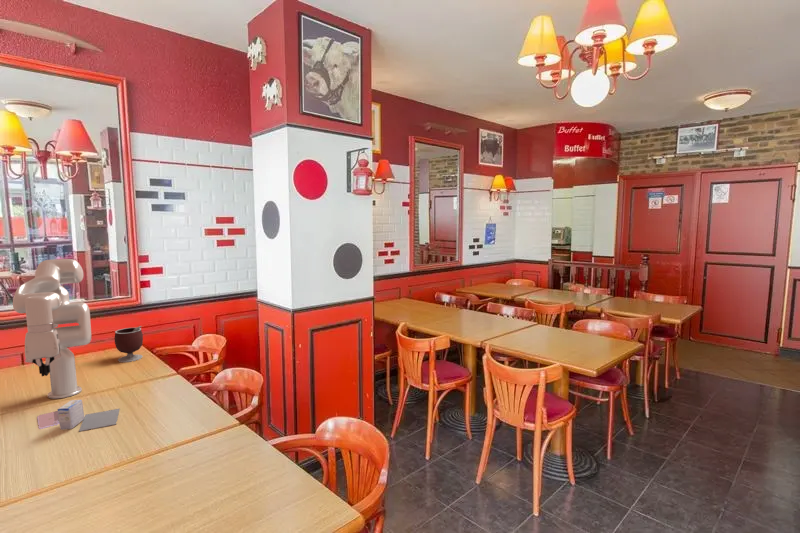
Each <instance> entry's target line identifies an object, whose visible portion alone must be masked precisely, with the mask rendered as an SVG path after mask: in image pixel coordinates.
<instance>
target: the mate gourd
mask: <svg viewBox="0 0 800 533" xmlns="http://www.w3.org/2000/svg"><path fill="white" fill-rule="evenodd" d="M143 335H144V334H143V330H142V325H140V326H138V327H125V328H121V329H117V330H115V331H114V345H115V349H116V350H117V351H119V352H120V353H125V354H126V355H124V356H122V357H119V358H118V359H117V361H119V362H118V363H131V362H132V361H133V362H136V360H137V361H140V360H142V359H143V358H142V357H144V356H143V355H142V354H134V353H135V352H136V351H139V350H140V349H141V347H142V346H143V341H144V337H143ZM141 358H142V359H141ZM139 359H140V360H139Z"/></svg>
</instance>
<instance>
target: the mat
mask: <svg viewBox="0 0 800 533" xmlns="http://www.w3.org/2000/svg"><path fill="white" fill-rule="evenodd" d="M120 410H121V409H120V408H116V409H109V410H105V411H99V412H92V413H87V414H84V418H85V419H84V420H83V421H81V422H82V423H81V425H80V427H79V430H78V432H79V433H81V432H86V431H89V430H91V429H92V430H95V429H96V430H97V429H102V428H106V427H112V426H116V425H117V423H116V422H118V418H119V413H120Z"/></svg>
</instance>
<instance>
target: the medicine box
mask: <svg viewBox="0 0 800 533" xmlns="http://www.w3.org/2000/svg"><path fill="white" fill-rule="evenodd" d="M57 411H58V416H59V423H60V424H59V427H60V428H59V429H60V430H61V431H62V430H63V431H65V430H72V429H73V428H75V427H76V426H78V425H79V424H80V423H81V422H83V420H84V419H85V418H84V417H85V413H84V411H85V410H84V404H83V400H82V399H73V400H69V401H68V402H66V403H65V404H63V405H62V406H60V407H59V408H57Z"/></svg>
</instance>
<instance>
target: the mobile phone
mask: <svg viewBox="0 0 800 533" xmlns="http://www.w3.org/2000/svg"><path fill="white" fill-rule="evenodd" d="M37 424H38V425H39V426H38V429H39V430H41V429H42V430H43V429H48V428H51V427H55V426H58V424H59V425H60V423H59V416H58V410H55V411H51V412H47V413H42V414H39V415H37ZM54 425H55V426H54ZM50 426H51V427H50Z"/></svg>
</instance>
